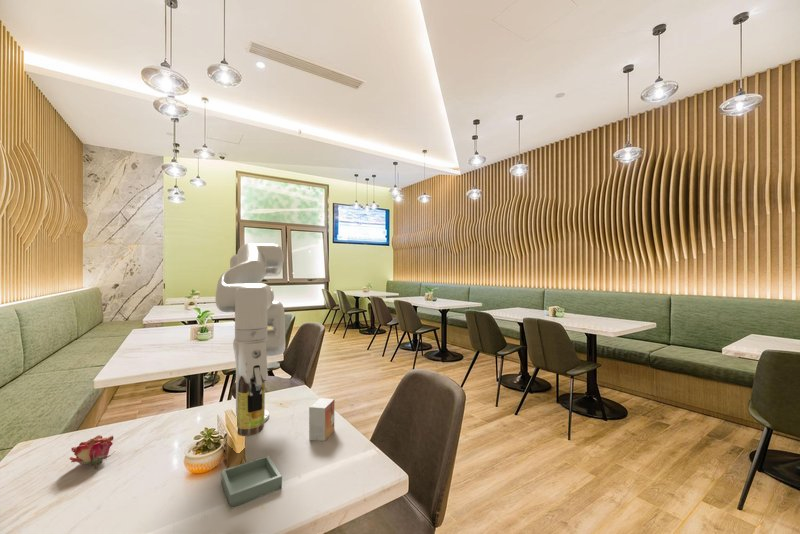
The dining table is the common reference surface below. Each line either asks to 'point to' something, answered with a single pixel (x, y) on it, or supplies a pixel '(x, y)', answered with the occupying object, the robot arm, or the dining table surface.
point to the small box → (321, 419)
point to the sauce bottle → (245, 420)
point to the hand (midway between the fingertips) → (251, 405)
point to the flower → (92, 451)
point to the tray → (250, 480)
